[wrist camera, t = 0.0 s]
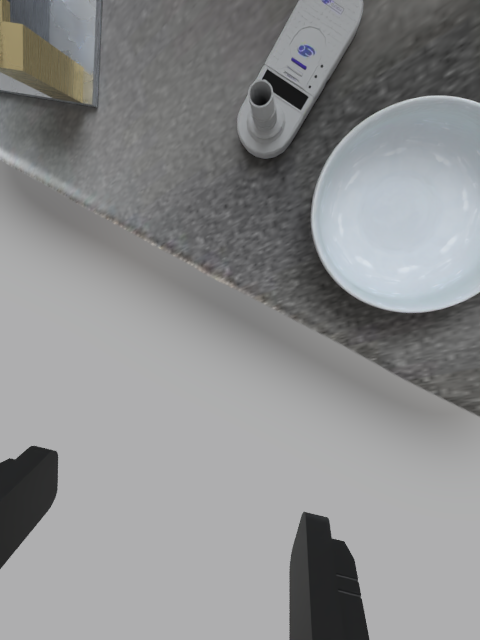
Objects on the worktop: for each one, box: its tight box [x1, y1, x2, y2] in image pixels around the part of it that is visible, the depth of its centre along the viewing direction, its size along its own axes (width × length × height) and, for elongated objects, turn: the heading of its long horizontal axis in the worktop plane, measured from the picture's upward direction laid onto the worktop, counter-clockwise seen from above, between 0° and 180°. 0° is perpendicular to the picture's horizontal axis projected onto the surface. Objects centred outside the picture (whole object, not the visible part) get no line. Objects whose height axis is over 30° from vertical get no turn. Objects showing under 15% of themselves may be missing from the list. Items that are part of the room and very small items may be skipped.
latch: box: [0, 0, 84, 103], centre depth 31 cm, size 4×5×8 cm
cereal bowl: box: [311, 96, 480, 313], centre depth 32 cm, size 17×17×7 cm
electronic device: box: [237, 0, 363, 159], centre depth 29 cm, size 5×10×15 cm
